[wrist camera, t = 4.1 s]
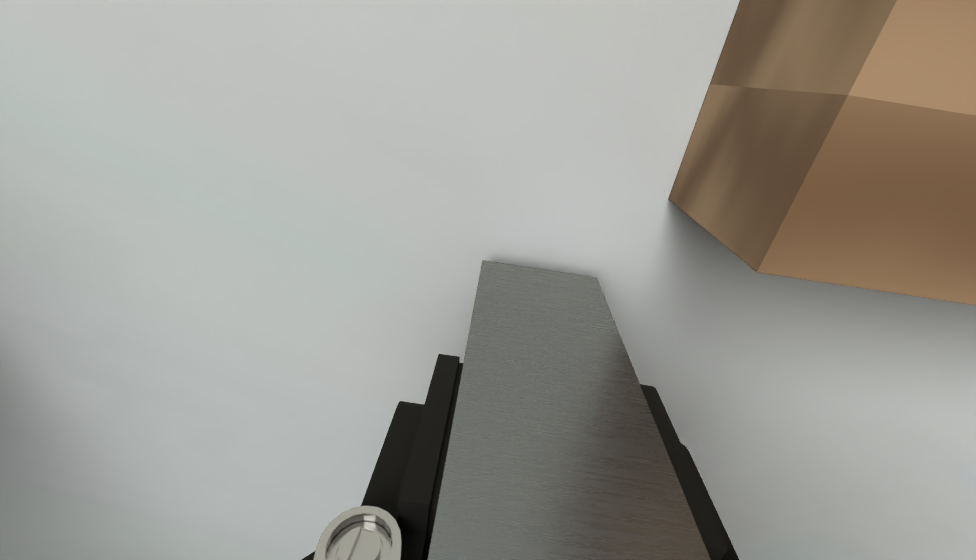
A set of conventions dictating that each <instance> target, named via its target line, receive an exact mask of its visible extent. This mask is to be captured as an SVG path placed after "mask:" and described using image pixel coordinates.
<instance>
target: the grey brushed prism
mask: <svg viewBox="0 0 976 560" xmlns="http://www.w3.org/2000/svg"><path fill="white" fill-rule="evenodd" d="M428 560H711V559H710V557H709V554H708V552H707V549H706V547H705V544H704V542H703V540H702V537H701V535H700V532H699V530H698V527H697V525H696V522H695V520H694V517H693V515H692V512H691V510H690V507H689V505H688V503H687V500H686V498H685V495H684V493H683V490H682V488H681V485H680V483H679V480H678V478H677V475H676V473H675V470H674V468H673V465H672V463H671V461H670V458H669V456H668V453H667V451H666V448H665V446H664V443H663V441H662V438H661V436H660V433H659V431H658V428H657V426H656V423H655V421H654V419H653V416H652V414H651V411H650V409H649V406H648V404H647V401H646V399H645V396H644V394H643V391H642V389H641V386H640V384H639V381H638V379H637V377H636V374H635V372H634V369H633V367H632V364H631V362H630V359H629V357H628V354H627V352H626V349H625V347H624V344H623V342H622V340H621V337H620V335H619V332H618V330H617V327H616V325H615V322H614V320H613V317H612V315H611V312H610V310H609V307H608V305H607V302H606V300H605V298H604V295H603V293H602V290H601V288H600V285H599V283H598V280H597V278H594V277H588V276H581V275H575V274H568V273H562V272H555V271H549V270H542V269H536V268H529V267H523V266H516V265H510V264H503V263H497V262H490V261H484V260H482V266H481V271H480V277H479V282H478V287H477V293H476V298H475V304H474V309H473V315H472V320H471V326H470V331H469V337H468V342H467V347H466V353H465V358H464V364H463V369H462V375H461V380H460V386H459V391H458V397H457V402H456V407H455V413H454V418H453V424H452V429H451V435H450V440H449V446H448V451H447V457H446V462H445V467H444V473H443V478H442V484H441V489H440V495H439V500H438V506H437V511H436V517H435V522H434V527H433V533H432V538H431V544H430V549H429V555H428Z"/></svg>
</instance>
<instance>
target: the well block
mask: <svg viewBox="0 0 976 560" xmlns="http://www.w3.org/2000/svg"><path fill="white" fill-rule="evenodd" d="M669 200H671V201H672V202H673V203H674V204H675V205H677V206H678V207H679V208H680V209H681V210H683V211H684V212H685V213H686V214H687V215H689V216H690V217H691V218H692V219H693V220H695V221H696V222H697V223H698V224H699V225H701V226H702V227H703V228H704V229H706V230H707V231H708V232H709V233H710V234H712V235H713V236H714V237H715V238H716V239H718V240H719V241H720V242H721V243H722V244H724V245H725V246H726V247H727V248H728V249H730V250H731V251H732V252H733V253H734V254H736V255H737V256H738V257H739V258H740V259H742V260H743V261H744V262H745V263H746V264H748V265H749V266H750V267H751V268H752V269H754V270H755V271H756V272H759V273H766V274H772V275H779V276H786V277H792V278H799V279H806V280H812V281H819V282H825V283H832V284H839V285H845V286H852V287H858V288H865V289H872V290H878V291H885V292H892V293H898V294H905V295H911V296H918V297H925V298H931V299H938V300H944V301H951V302H958V303H964V304H971V305H976V0H740V3H739V6H738V9H737V11H736V14H735V17H734V20H733V22H732V25H731V28H730V31H729V33H728V36H727V39H726V42H725V44H724V47H723V50H722V53H721V55H720V58H719V61H718V64H717V67H716V69H715V72H714V75H713V78H712V80H711V83H710V86H709V89H708V91H707V94H706V97H705V100H704V102H703V105H702V108H701V111H700V113H699V116H698V119H697V122H696V125H695V127H694V130H693V133H692V136H691V138H690V141H689V144H688V147H687V149H686V152H685V155H684V158H683V160H682V163H681V166H680V169H679V171H678V174H677V177H676V180H675V182H674V185H673V188H672V191H671V194H670V196H669Z"/></svg>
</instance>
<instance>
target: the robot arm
mask: <svg viewBox="0 0 976 560" xmlns="http://www.w3.org/2000/svg"><path fill="white" fill-rule="evenodd" d="M459 358H460V357H456V356H450V355H443V354H439V355H438V358H437V362H436V366H435V369H434V373H433V376H432V380H431V384H430V387H429V391H428V394H427V398H426V401H425V405H422V404H416V403H409V402H402V401H400V402H399V403H398V406H397V408H396V411H395V414H394V416H393V419H392V422H391V425H390V427H389V430H388V433H387V436H386V438H385V441H384V444H383V447H382V449H381V452H380V455H379V458H378V461H377V463H376V466H375V469H374V472H373V474H372V477H371V480H370V483H369V485H368V488H367V491H366V494H365V496H364V499H363V502H362V505H361V506H360V507H354V508H351V509H349V510H347V511H345V512H343V513H341V514H340V515H338V516H337V517H336V518H335V519H334V520H332V521H331V522H330V523H329V525H328V526H327V527H326V529H325V530H324V531H323V533H322V534H321V537H320V539H319V542H318V544H317V547H316V551H315V552H313V553H311V554H310V555H308V556H307V557H305V558H303V559H302V560H428V555H429V549H430V544H431V538H432V533H433V527H434V522H435V517H436V511H437V506H438V500H439V495H440V489H441V484H442V478H443V473H444V467H445V462H446V457H447V451H448V446H449V440H450V435H451V429H452V424H453V418H454V413H455V407H456V402H457V397H458V391H459V386H460V380H461V375H462V369H463V364H464V363H459ZM640 386H641V389H642V391H643V394H644V396H645V399H646V401H647V404H648V406H649V409H650V411H651V414H652V416H653V419H654V421H655V423H656V426H657V428H658V431H659V433H660V436H661V438H662V441H663V443H664V446H665V448H666V451H667V453H668V456H669V458H670V461H671V463H672V465H673V468H674V470H675V473H676V475H677V478H678V480H679V483H680V485H681V488H682V490H683V493H684V495H685V498H686V500H687V503H688V505H689V507H690V510H691V512H692V515H693V517H694V520H695V522H696V525H697V527H698V530H699V532H700V535H701V537H702V540H703V542H704V544H705V547H706V549H707V552H708V554H709V557H710V559H711V560H739V558H738V556H737V554H736V552H735V550H734V548H733V545H732V543H731V541H730V539H729V537H728V535H727V533H726V530H725V528H724V526H723V524H722V522H721V520H720V517H719V515H718V513H717V511H716V509H715V507H714V505H713V502H712V500H711V498H710V496H709V494H708V492H707V489H706V487H705V485H704V483H703V481H702V479H701V477H700V474H699V472H698V470H697V468H696V466H695V464H694V461H693V459H692V457H691V455H690V453H689V451H688V450H687V448H686V447H685V446H684V445H683V444H681V443H680V441H679V439H678V436H677V434H676V432H675V430H674V428H673V425H672V423H671V421H670V419H669V417H668V414H667V412H666V410H665V408H664V405H663V403H662V401H661V399H660V397H659V394H658V392H657V390H656V389H655V388H654V387H653V386H647V385H640Z"/></svg>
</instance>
